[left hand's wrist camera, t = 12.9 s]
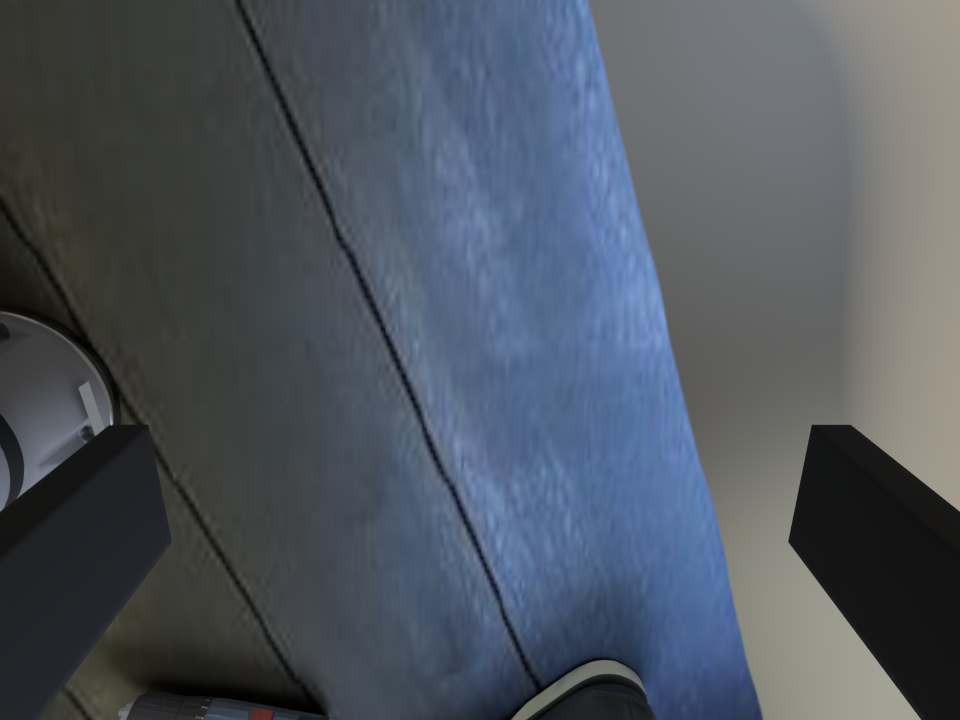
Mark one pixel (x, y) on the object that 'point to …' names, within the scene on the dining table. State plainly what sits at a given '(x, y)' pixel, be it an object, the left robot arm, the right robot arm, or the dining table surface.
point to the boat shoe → (591, 696)
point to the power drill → (204, 709)
